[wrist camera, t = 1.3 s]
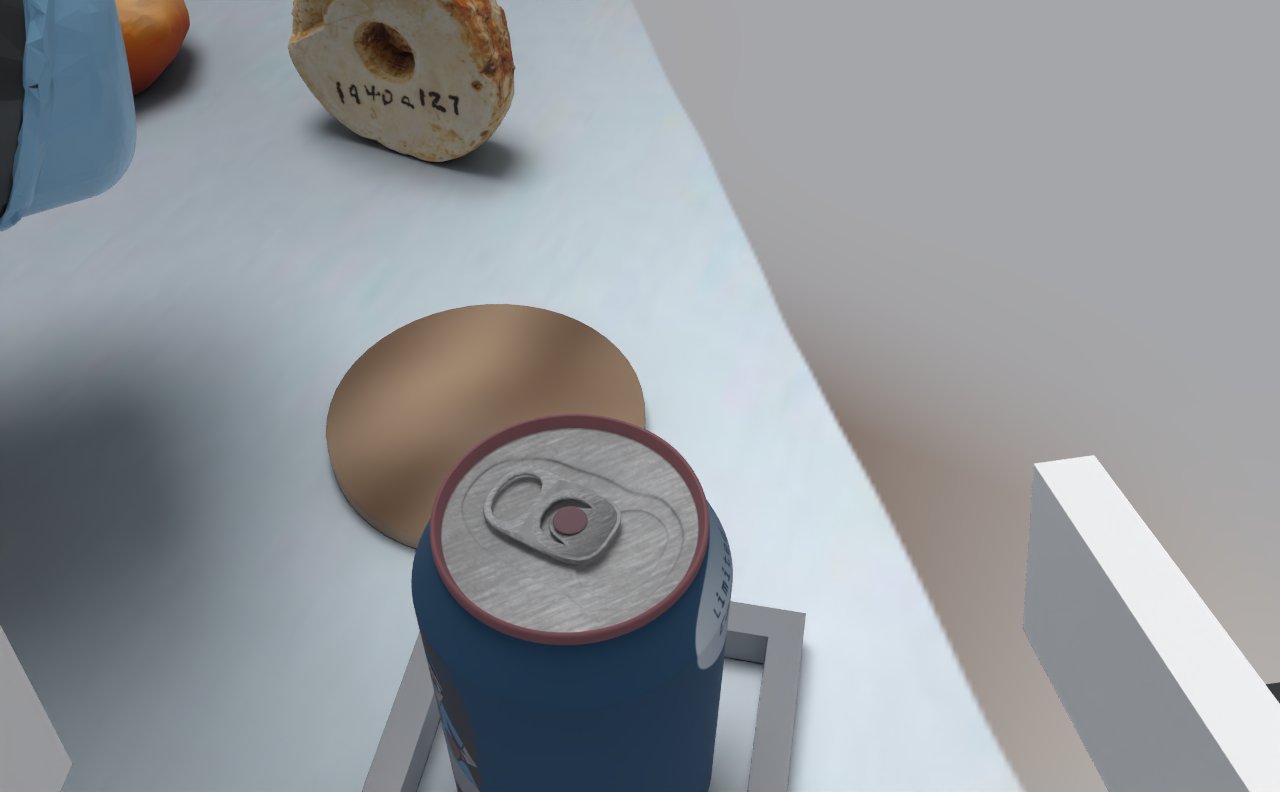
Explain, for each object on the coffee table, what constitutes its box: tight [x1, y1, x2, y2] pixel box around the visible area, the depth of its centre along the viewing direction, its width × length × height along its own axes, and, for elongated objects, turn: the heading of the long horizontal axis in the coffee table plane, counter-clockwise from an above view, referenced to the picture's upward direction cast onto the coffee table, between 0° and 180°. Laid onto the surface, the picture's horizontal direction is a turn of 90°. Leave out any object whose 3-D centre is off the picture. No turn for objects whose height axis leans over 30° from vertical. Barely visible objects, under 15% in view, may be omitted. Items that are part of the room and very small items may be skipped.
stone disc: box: [288, 0, 515, 162], centre depth 50 cm, size 10×4×10 cm, turn 64°
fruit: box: [115, 0, 190, 96], centre depth 55 cm, size 8×8×8 cm
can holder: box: [362, 601, 806, 792], centre depth 32 cm, size 11×11×2 cm
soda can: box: [412, 414, 733, 792], centre depth 28 cm, size 7×7×12 cm
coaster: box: [326, 304, 645, 549], centre depth 41 cm, size 11×11×1 cm
